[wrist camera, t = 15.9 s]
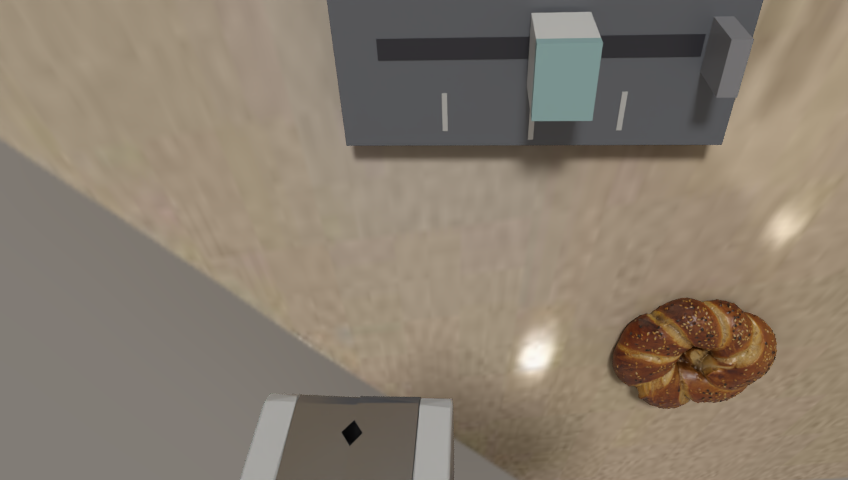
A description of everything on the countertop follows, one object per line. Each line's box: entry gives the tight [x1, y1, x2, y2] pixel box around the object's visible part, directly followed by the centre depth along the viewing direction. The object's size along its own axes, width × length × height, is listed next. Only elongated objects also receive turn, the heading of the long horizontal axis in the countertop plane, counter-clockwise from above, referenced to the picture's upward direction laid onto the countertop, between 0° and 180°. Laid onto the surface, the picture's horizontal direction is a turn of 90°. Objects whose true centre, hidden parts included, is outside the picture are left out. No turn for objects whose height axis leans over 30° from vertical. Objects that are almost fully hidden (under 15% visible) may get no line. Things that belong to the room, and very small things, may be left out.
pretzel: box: [613, 298, 777, 409], centre depth 49 cm, size 12×11×4 cm
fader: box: [527, 12, 603, 121], centre depth 32 cm, size 3×4×4 cm
